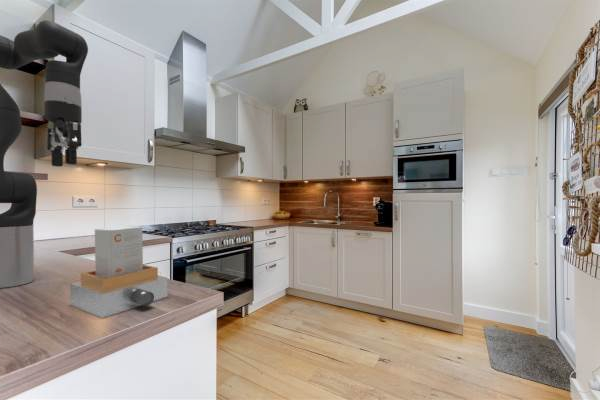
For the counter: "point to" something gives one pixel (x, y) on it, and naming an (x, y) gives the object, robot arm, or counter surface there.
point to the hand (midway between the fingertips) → (63, 165)
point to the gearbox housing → (118, 291)
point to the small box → (118, 251)
